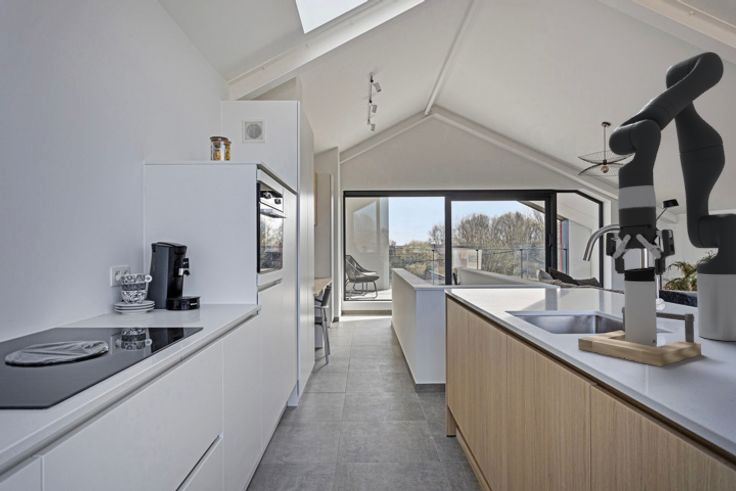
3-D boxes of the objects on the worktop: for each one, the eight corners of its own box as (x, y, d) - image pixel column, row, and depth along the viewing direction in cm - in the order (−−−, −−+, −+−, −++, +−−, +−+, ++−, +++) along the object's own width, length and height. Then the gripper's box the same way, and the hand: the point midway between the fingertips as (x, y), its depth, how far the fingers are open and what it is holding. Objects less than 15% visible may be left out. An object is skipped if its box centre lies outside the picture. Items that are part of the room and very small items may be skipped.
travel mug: (664, 354, 93) (662, 267, 93) (632, 353, 94) (630, 267, 94) (651, 347, 99) (648, 266, 99) (621, 347, 100) (619, 266, 101)
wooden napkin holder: (620, 339, 108) (619, 306, 109) (702, 354, 93) (700, 314, 93) (578, 348, 99) (577, 312, 100) (660, 366, 84) (659, 322, 84)
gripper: (678, 203, 93) (681, 274, 93) (615, 209, 105) (617, 272, 105) (662, 202, 89) (664, 276, 89) (598, 209, 101) (600, 274, 101)
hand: (639, 274), depth 97 cm, fingers open, 8 cm apart
